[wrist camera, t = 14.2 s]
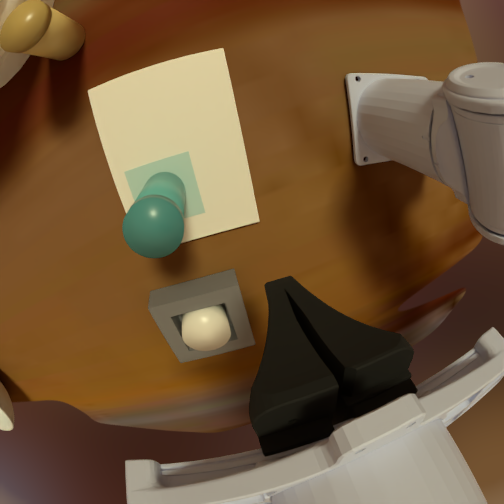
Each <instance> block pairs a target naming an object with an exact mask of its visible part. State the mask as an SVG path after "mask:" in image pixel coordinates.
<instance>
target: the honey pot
mask: <svg viewBox="0 0 504 504" xmlns="http://www.w3.org/2000/svg"><path fill="white" fill-rule="evenodd" d="M25 1H28V0H0V32H1V29H2V26H3V24H4V22H5V20H6V19H7V17H8V16H9V15H10V13H11V12H12V11H13V10H14V9H15V8H16V7H18V6H19V5H20V4H22V3H23V2H25ZM40 1H42V2H44V3H46V4H47V5H49V7H51V8H53V4H54V0H40ZM29 56H30V54H24V53H12V52H6V51H4V50H3V49H2V48H1V46H0V88H1V87H3V86H4V85H5V84H7V83H8V82H9V81H10V79H11V78H12V77H13V76H14V75H15V74H16V73H17V72H18V71H19V70H20V69H21V68H22V66H23V65H24V63H25V62H26V60H27V59H28V58H29Z"/></svg>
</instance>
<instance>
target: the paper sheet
mask: <svg viewBox="0 0 504 504" xmlns="http://www.w3.org/2000/svg"><path fill="white" fill-rule="evenodd" d="M88 95H89V99H90V103H91V107H92V110H93V114H94V118H95V122H96V125H97V129H98V132H99V136H100V139H101V142H102V145H103V149H104V152H105V155H106V158H107V161H108V164H109V167H110V170H111V173H112V176H113V179H114V182H115V185H116V187H117V190H118V193H119V196H120V198H121V201H122V204H123V206H124V209H125V212H126V214H127V212H128V210H129V209H130V207H131V206H132V204H133V203H134V202H135V200H136V198H137V197H138V195H139V193H140V192H141V190H142V189H143V187H144V185H145V184H146V182H147V181H148V179H149V178H150V177H151V176H153V175H154V174H156V173H159V172H170V173H173V174H175V175H177V176H178V177H179V178H180V179H181V180H182V182H183V183H184V186H185V207H184V236H183V239H182V242H181V243H183V242H187V241H190V240H194V239H197V238H201V237H204V236H208V235H212V234H215V233H219V232H223V231H226V230H230V229H234V228H237V227H241V226H245V225H249V224H252V223H256V222H260V221H259V216H258V211H257V206H256V201H255V196H254V191H253V186H252V181H251V176H250V171H249V166H248V162H247V157H246V152H245V147H244V142H243V137H242V133H241V128H240V123H239V118H238V114H237V109H236V104H235V99H234V95H233V90H232V85H231V81H230V76H229V72H228V67H227V63H226V58H225V53H224V49H223V48H221V49H216V50H211V51H206V52H201V53H197V54H193V55H188V56H184V57H181V58H177V59H173V60H169V61H166V62H162V63H159V64H156V65H153V66H150V67H146V68H143V69H140V70H138V71H135V72H132V73H129V74H126V75H124V76H121V77H118V78H116V79H113V80H111V81H108V82H106V83H104V84H101V85H99V86H97V87H94V88H92V89H90V90H88Z"/></svg>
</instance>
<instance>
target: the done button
mask: <svg viewBox="0 0 504 504" xmlns="http://www.w3.org/2000/svg"><path fill="white" fill-rule="evenodd" d="M181 316H182V338H183V341H184V342H185V344H186V345H188V346H189V347H191V348H193V349H195V350H200V351H210V350H215V349H218V348H220V347H222V346H223V345H225V344H226V343H227V342H228V340H229V339H230V336H231V331H230V326H229V321H228V316H227V311H226V307H225V305H224V304H223V303H222V304H219V305H215V306H211V307H207V308H204V309H200V310H196V311H192V312H188V313H184V314H181Z"/></svg>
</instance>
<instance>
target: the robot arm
mask: <svg viewBox="0 0 504 504" xmlns="http://www.w3.org/2000/svg"><path fill="white" fill-rule="evenodd" d="M356 76H357V77H358V81H356V80H355V77H356ZM345 80H346V87H347V94H348V101H349V109H350V118H351V128H352V139H353V151H354V161H355V163H356V164H357V165H360V166H361V165H367V164H373V163H379V162H385V161H391V160H394V161H396V162H398V163H401V164H403V165H405V166H407V167H410V168H412V169H414V170H416V171H418V172H420V173H423V174H425V175H427V176H429V177H431V178H433V179H435V180H437V181H439V182H441V183H443V184H445V185H447V186H449V187H450V188H452V189H453V191H454V193H455V197H456V198H458V199H459V200H461V201H463V202H464V203H466V204H468V211H469V216H470V219H471V221H472V223H473V225H474V227H475V228H476V229H477V230H478V231H479V232H480V233H481V234H482V235H483V236H485V237H486V238H487V239H489V240H491V241H493V242H496V243H499V244H502V245H504V63H498V62H482V63H474V64H468V65H465V66H461V67H459V68H457V69H455V70H453V71H452V72H451V73H450V74H449V75H448V77H447V79H446V80H445V81H444V82H440V81H430V80H427V78H426V77H419V76H409V75H396V74H375V73H349V74H347V75H346V77H345ZM365 156H366V160H365V161H364V160H363V159H364V157H365ZM265 290H266V295H267V300H268V306H269V318H268V331H267V338H266V344H265V349H264V353H263V357H262V361H261V364H260V367H259V370H258V373H257V376H256V378H255V381H254V383H253V386H252V388H251V395H250V403H249V415H250V420H251V423H252V427H253V429H254V430H255V432H256V434H257V436H258V438H259V442H260V445H261V449H257V450H253V451H249V452H244V453H239V454H234V455H229V456H223V457H218V458H212V459H205V460H199V461H191V462H182V463H171V464H159V463H158V462H156V461H154V460H149V459H141V460H126V461H125V463H126V464H125V466H126V492H127V504H487V502H486V499H485V497H484V495H483V494H482V491H481V489H480V487H479V486H478V484H477V482H476V480H475V478H474V476H473V474H472V472H471V470H470V469H469V467H468V465H467V463H466V461H465V460H464V458H463V456H462V454H461V452H460V451H459V449H458V447H457V446H456V444H455V442H454V440H453V439H452V437H451V435H450V434H449V432H448V430H447V429H446V427H447V426H448V425H450V424H451V423H452V422H453V421H455V420H456V419H457V418H458V417H460V416H461V415H462V414H463V413H465V412H466V411H467V410H468V409H469V408H471V406H473V405H474V404H475V403H476V402H477V401H479V400H480V399H481V398H482V397H483V396H484V395H485V394H487V393H488V392H489V391H490V390H491V389H492V388H493V387H494V386H495V385H496V384H497V383H498V382H499V381H500V380H501V379H502V377H503V376H504V338H502V336H501V335H500V334H499V333H498V332H497V331H496V329H495V328H494V327H492V328H491V329H489V330H488V331H487V332H486V333H484V334H483V335H482V336H481V337H480V338H479V339H478V341H477V342H476V344H475V347H474V348H473V349H472V350H470V351H469V352H467V353H466V354H465V355H463V356H462V357H461V358H459V359H458V360H456V361H455V362H453V363H452V364H450V365H449V366H448V367H446V368H444V369H443V370H441V371H440V372H438V373H437V374H435V375H434V376H432V377H431V378H429V379H427V380H425V381H424V382H422V383H421V384H419V385H417V386H415V385H414V383H413V382H412V380H411V379H410V378H411V373H410V372H409V370H408V368H409V365H410V363H411V361H412V358H413V354H414V351H413V348H412V347H411V346H410V344H409V343H408V342H407V341H406V339H405V338H404V337H402V335H401V334H398V333H394V332H389V331H385V330H381V329H378V328H375V327H372V326H369V325H366V324H364V323H361V322H359V321H356V320H354V319H352V318H350V317H348V316H346V315H344V314H342V313H340V312H338V311H336V310H335V309H333V308H332V307H330V306H328V305H327V304H325V303H324V302H322V301H321V300H320V299H318V298H317V297H316V296H314V295H313V294H312V293H310V292H309V291H308V290H307V289H305V288H304V287H303V286H302V285H301V284H300V283H298V282H297V281H296V280H295V279H294V278H293V277H291V276H288V277H285V278H281V279H278V280H274V281H271V282H267V283H266V284H265Z"/></svg>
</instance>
